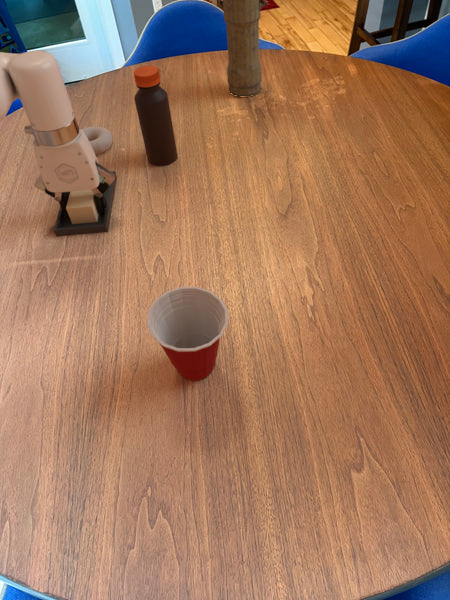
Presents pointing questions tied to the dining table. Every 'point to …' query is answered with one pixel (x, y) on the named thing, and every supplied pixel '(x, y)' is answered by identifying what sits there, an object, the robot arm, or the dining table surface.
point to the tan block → (82, 207)
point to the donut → (98, 138)
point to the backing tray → (102, 225)
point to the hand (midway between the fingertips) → (86, 210)
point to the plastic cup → (189, 329)
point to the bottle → (154, 117)
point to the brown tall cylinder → (243, 45)
